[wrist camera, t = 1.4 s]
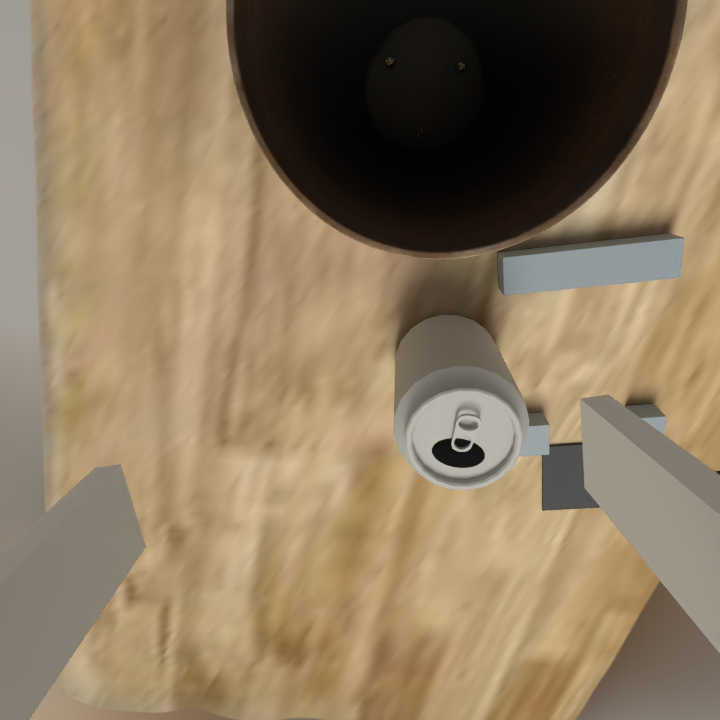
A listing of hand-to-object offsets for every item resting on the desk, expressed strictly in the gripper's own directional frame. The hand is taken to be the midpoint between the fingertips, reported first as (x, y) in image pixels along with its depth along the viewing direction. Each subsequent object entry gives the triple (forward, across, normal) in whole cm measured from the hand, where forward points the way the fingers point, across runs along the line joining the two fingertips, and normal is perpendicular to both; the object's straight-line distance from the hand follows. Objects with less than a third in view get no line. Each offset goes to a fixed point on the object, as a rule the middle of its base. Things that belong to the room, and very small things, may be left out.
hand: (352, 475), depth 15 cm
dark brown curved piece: (+22, +6, +14) cm, 27 cm away
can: (+24, +6, -4) cm, 25 cm away
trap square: (+24, +15, -15) cm, 32 cm away
